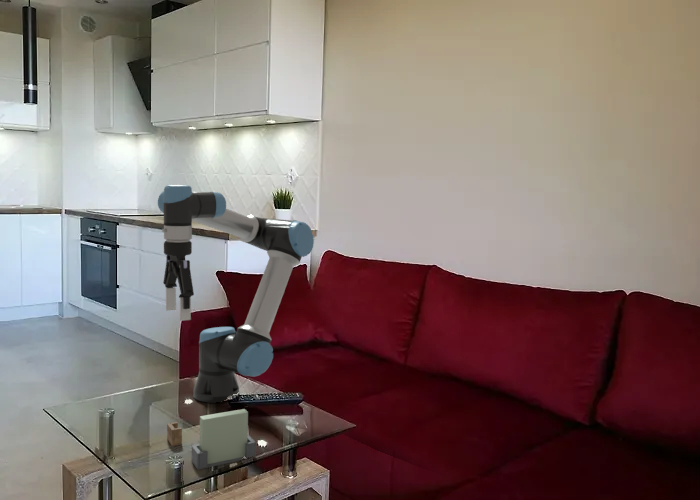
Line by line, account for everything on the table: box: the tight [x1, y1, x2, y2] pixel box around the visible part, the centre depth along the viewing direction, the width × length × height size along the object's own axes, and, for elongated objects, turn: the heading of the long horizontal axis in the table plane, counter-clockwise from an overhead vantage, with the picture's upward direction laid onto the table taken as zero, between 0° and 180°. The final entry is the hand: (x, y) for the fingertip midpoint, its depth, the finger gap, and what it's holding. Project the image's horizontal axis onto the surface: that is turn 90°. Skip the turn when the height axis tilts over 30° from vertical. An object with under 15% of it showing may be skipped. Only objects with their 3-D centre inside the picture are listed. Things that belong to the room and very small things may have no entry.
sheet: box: [199, 408, 249, 464], centre depth 157 cm, size 12×2×12 cm, turn 121°
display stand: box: [191, 434, 256, 470], centre depth 158 cm, size 15×5×5 cm, turn 121°
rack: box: [166, 421, 183, 447], centre depth 170 cm, size 16×5×5 cm, turn 121°
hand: (177, 314), depth 172 cm, fingers open, 13 cm apart
